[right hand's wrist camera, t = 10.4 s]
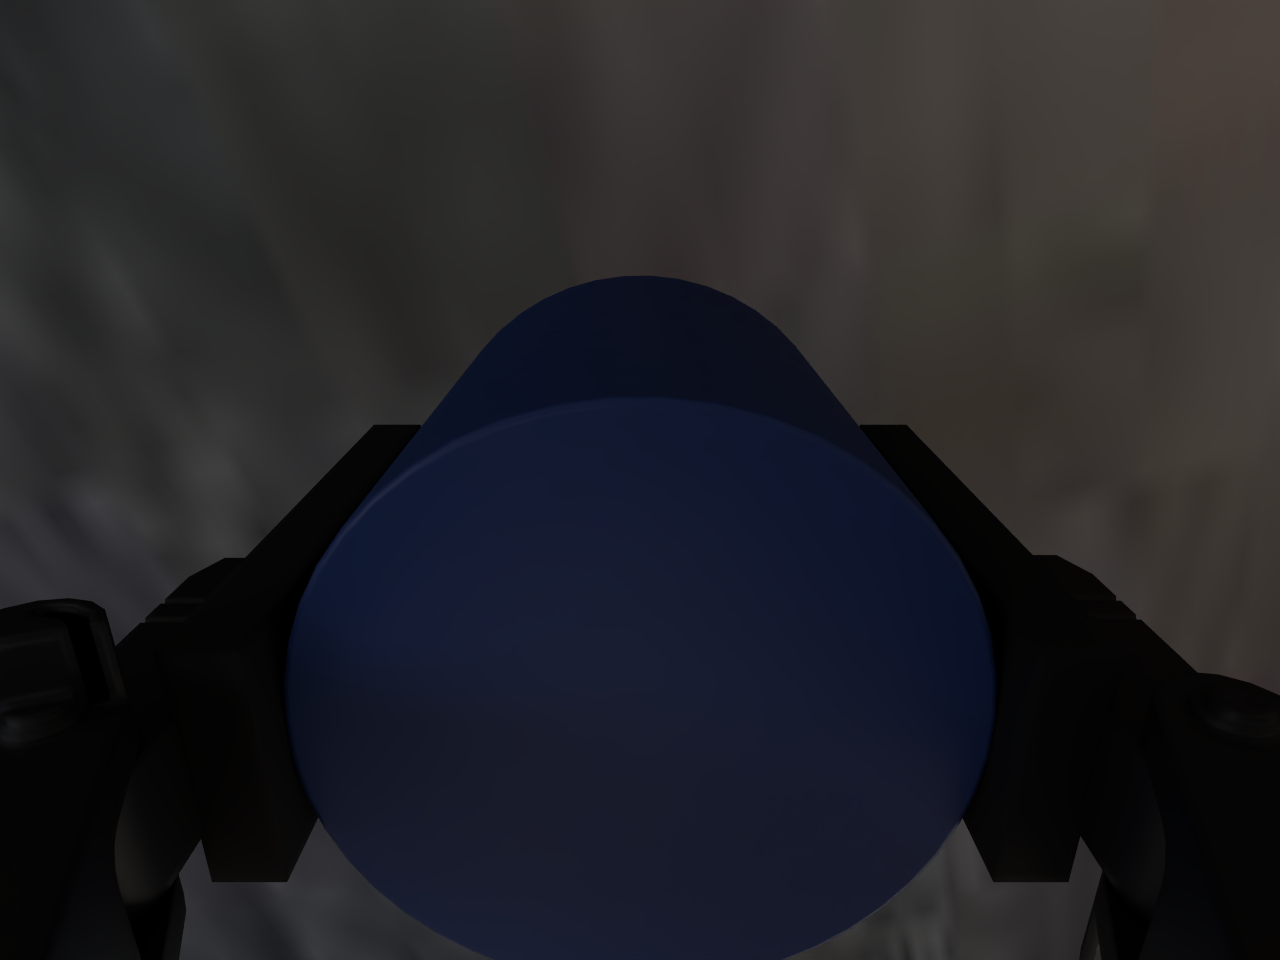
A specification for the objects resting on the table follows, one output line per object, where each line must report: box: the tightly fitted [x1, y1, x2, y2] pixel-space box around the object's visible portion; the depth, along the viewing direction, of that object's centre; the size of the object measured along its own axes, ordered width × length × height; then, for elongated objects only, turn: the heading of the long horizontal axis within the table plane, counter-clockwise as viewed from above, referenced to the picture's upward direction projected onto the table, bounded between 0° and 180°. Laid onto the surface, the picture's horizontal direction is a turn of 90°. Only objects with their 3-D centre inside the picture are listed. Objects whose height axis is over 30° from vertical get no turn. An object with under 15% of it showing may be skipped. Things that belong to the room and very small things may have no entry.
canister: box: [284, 276, 997, 960], centre depth 12 cm, size 7×7×7 cm
